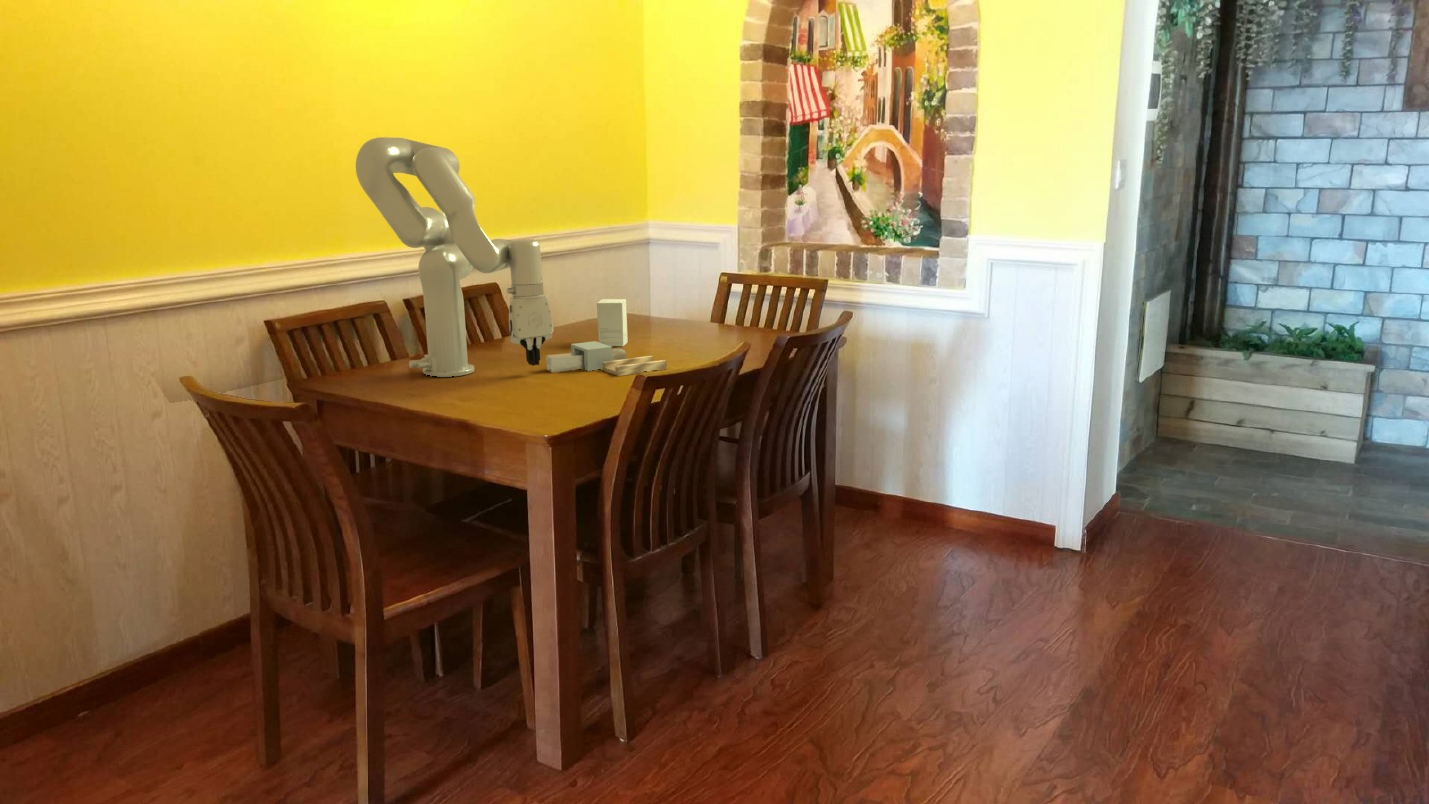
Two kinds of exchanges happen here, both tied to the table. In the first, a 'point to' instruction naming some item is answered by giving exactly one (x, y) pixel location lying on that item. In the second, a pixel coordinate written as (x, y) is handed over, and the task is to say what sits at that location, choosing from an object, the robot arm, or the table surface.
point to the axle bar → (575, 360)
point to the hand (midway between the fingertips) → (533, 364)
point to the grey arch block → (593, 354)
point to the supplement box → (612, 322)
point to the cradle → (633, 365)
